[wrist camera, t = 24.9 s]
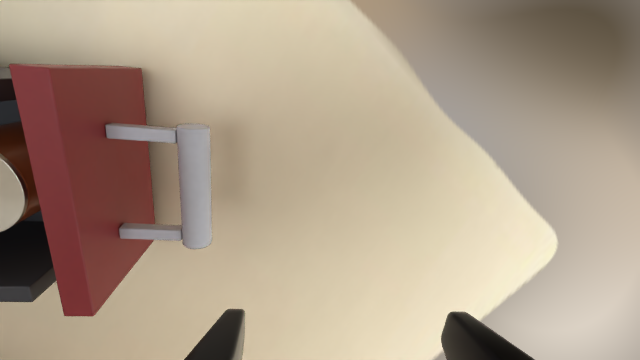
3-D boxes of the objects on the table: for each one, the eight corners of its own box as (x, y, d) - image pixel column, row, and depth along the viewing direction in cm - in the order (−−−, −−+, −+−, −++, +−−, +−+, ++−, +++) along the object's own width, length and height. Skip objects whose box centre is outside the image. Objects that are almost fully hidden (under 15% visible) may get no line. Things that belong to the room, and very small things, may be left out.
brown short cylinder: (51, 105, 15) (-34, 118, 11) (105, 176, 17) (47, 210, 13) (-19, 140, 16) (-127, 165, 12) (40, 207, 17) (-37, 250, 13)
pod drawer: (225, 76, 17) (187, 81, 10) (225, 240, 20) (197, 317, 14) (-133, 40, 15) (-451, 18, 8) (-66, 229, 18) (-256, 314, 12)
